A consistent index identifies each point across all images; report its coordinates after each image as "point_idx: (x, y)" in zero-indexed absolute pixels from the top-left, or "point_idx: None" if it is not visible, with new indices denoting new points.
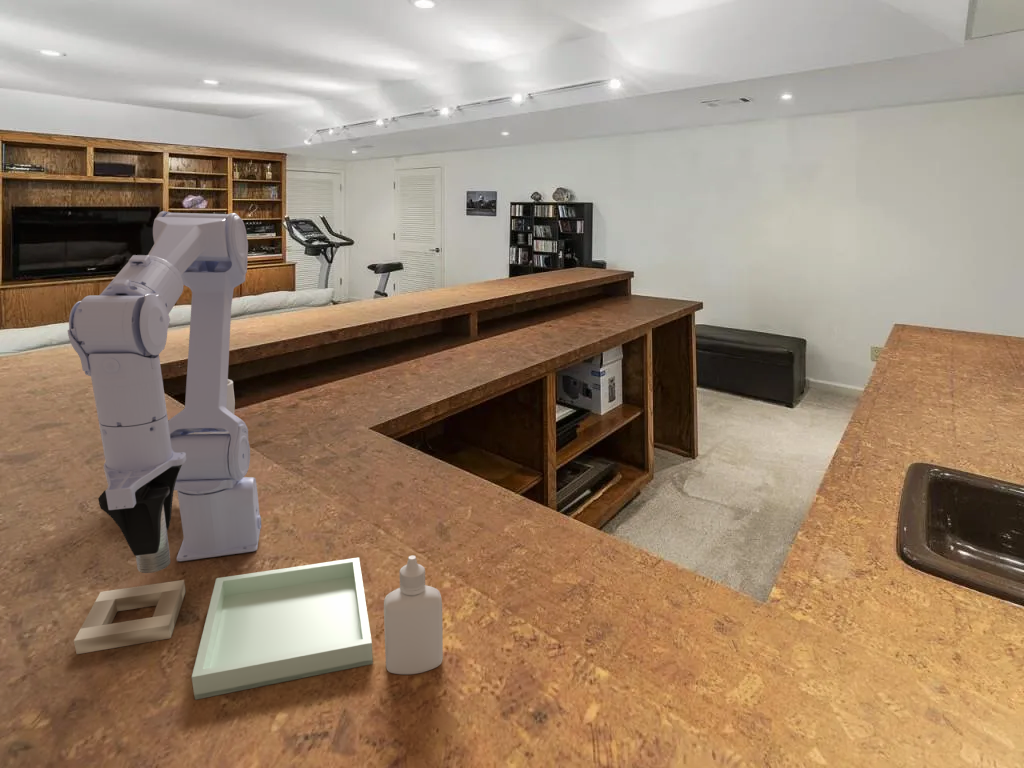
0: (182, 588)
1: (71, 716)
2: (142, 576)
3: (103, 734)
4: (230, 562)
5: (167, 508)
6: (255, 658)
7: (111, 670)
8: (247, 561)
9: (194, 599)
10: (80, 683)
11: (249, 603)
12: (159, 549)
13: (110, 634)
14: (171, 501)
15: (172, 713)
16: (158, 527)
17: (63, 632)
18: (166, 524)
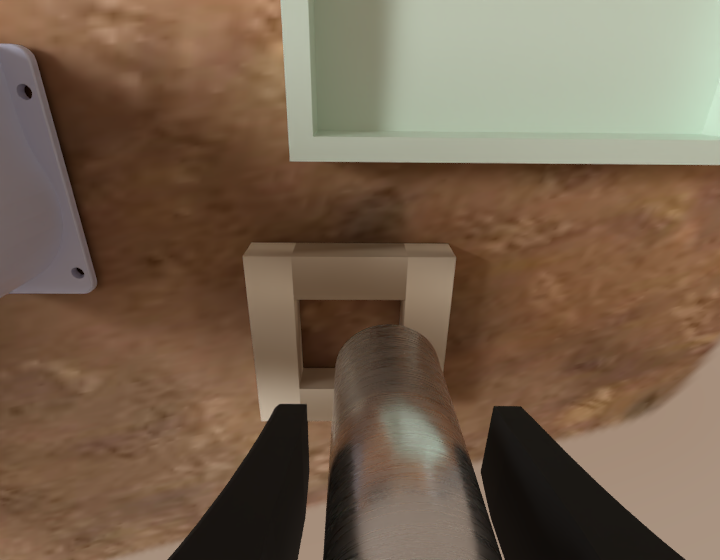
0: (273, 252)
1: (612, 361)
2: (160, 350)
3: (693, 304)
4: (102, 136)
5: (284, 497)
6: (664, 3)
7: (510, 332)
8: (98, 77)
9: (293, 214)
10: (525, 371)
11: (378, 45)
12: (446, 396)
13: (442, 366)
14: (244, 514)
15: (716, 194)
16: (625, 513)
17: None
18: (303, 428)
